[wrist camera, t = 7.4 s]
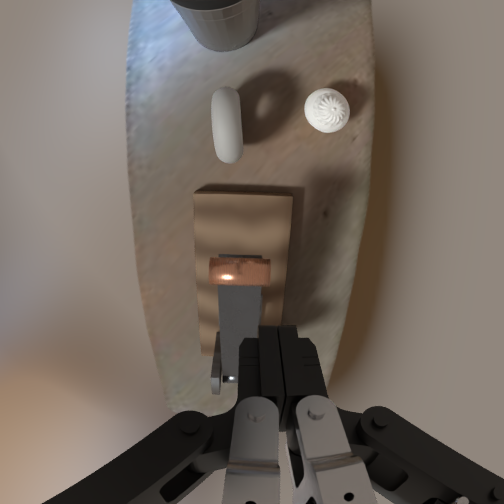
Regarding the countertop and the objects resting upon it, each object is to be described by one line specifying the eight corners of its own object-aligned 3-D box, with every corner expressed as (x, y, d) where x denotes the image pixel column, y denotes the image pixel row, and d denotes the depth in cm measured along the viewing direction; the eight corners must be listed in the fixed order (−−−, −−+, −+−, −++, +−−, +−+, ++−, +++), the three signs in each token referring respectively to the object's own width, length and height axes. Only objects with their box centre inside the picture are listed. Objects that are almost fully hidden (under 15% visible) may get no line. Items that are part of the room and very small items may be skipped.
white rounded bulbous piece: (301, 88, 38) (310, 82, 32) (342, 93, 38) (359, 88, 32) (299, 129, 41) (308, 131, 34) (340, 133, 41) (356, 136, 34)
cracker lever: (214, 236, 36) (208, 268, 31) (268, 238, 36) (271, 270, 31) (220, 358, 50) (217, 388, 45) (257, 359, 50) (258, 389, 45)
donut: (245, 158, 42) (244, 168, 33) (221, 159, 42) (213, 170, 33) (240, 89, 38) (237, 79, 29) (215, 92, 38) (205, 83, 29)
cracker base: (195, 190, 44) (176, 217, 32) (291, 193, 44) (307, 221, 32) (202, 348, 56) (194, 400, 44) (276, 350, 56) (281, 403, 45)
